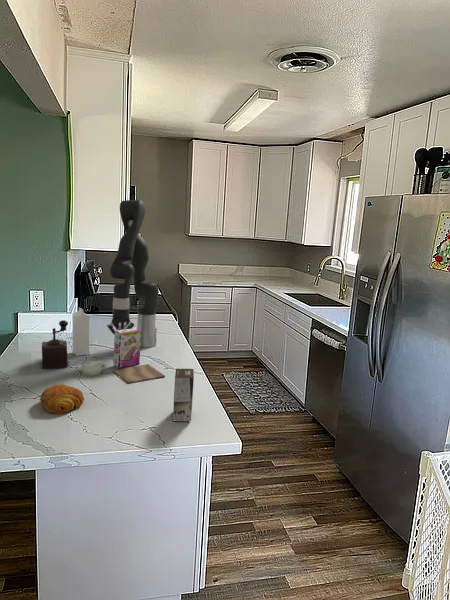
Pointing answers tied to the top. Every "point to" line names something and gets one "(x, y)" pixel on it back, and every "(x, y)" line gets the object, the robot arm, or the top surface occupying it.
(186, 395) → the coffee box
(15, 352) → the top surface
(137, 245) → the robot arm
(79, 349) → the milk
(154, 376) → the display board
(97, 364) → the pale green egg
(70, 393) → the croissant
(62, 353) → the coffee grinder
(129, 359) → the candy bar box
